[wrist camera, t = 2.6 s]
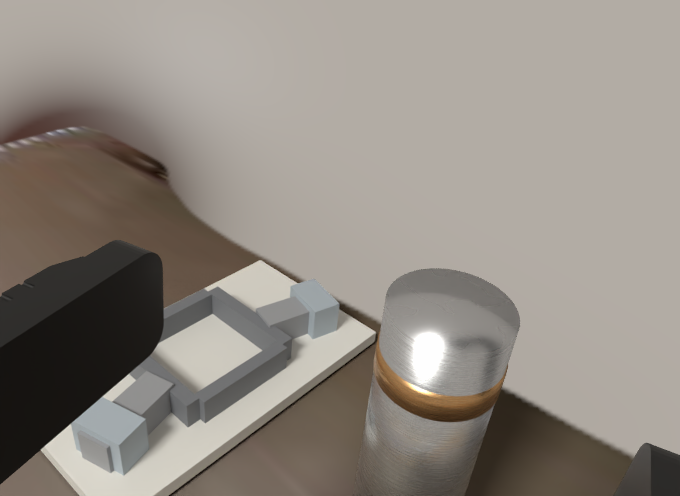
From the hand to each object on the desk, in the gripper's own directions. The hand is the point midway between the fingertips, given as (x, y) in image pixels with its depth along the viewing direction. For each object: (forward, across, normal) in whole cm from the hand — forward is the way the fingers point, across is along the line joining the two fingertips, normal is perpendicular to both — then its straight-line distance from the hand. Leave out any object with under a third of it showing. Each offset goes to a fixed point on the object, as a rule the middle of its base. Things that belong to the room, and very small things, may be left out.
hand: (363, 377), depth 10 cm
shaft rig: (+16, +14, +19) cm, 29 cm away
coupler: (+11, 0, +19) cm, 22 cm away
